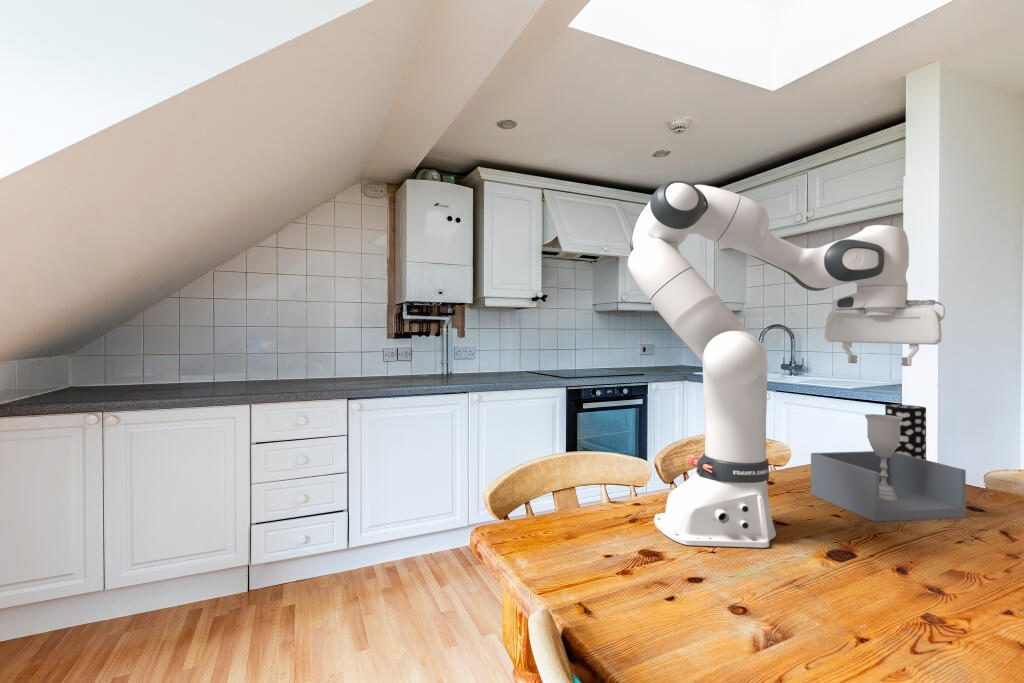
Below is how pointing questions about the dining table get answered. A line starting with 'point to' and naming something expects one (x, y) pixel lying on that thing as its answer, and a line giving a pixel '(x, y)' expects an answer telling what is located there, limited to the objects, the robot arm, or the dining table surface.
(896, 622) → the dining table surface
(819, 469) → the open gray box tray
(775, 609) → the dining table surface
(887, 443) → the chalice
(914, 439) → the white-spotted black cylinder
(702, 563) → the dining table surface
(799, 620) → the dining table surface
